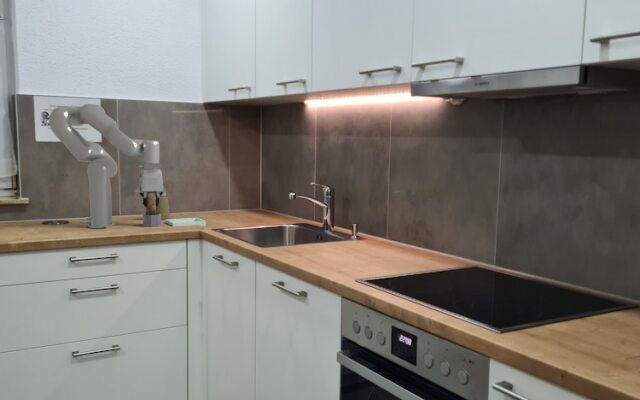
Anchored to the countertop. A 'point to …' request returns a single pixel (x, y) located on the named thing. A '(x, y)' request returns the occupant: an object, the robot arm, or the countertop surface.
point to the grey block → (152, 220)
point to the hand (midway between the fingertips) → (151, 205)
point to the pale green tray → (186, 222)
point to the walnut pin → (151, 203)
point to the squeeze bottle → (163, 207)
